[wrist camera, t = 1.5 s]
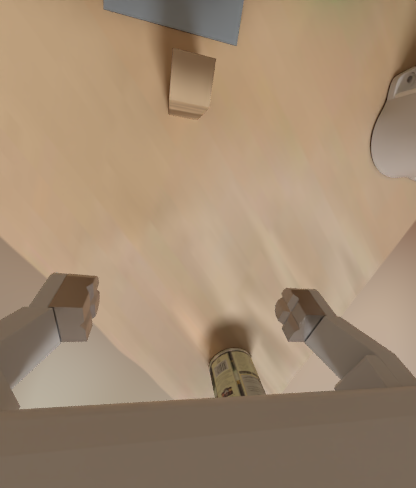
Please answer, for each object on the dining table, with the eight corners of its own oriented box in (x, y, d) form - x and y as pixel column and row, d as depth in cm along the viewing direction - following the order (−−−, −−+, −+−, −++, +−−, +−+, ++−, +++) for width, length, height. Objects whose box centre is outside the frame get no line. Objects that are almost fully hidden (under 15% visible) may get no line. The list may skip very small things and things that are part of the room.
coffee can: (240, 381, 55) (262, 452, 42) (201, 376, 52) (213, 450, 39) (259, 351, 52) (289, 417, 39) (219, 343, 49) (238, 412, 36)
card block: (197, 120, 31) (209, 107, 22) (168, 114, 30) (169, 99, 21) (201, 86, 30) (215, 58, 21) (171, 80, 29) (172, 47, 20)
